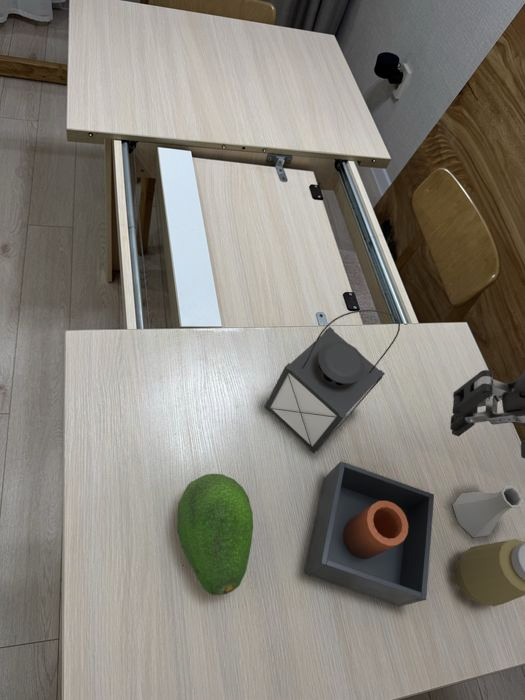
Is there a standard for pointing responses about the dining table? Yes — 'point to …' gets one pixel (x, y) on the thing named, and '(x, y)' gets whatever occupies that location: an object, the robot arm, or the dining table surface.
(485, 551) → the squeeze bottle
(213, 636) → the dining table surface
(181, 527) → the fruit
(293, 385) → the lantern
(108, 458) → the dining table surface
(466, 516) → the flask
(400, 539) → the jar
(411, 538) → the basin
